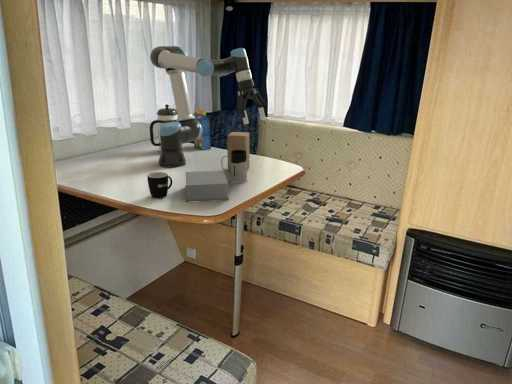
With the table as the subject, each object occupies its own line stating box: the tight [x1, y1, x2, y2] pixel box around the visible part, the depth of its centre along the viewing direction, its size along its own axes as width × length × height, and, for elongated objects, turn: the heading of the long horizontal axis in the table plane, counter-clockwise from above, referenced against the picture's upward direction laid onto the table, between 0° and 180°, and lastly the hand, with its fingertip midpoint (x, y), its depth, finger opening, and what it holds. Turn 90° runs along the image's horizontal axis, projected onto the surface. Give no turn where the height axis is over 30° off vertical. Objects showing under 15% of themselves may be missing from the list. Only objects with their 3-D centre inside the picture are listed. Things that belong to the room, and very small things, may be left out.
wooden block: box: [226, 131, 251, 173], centre depth 224 cm, size 10×10×20 cm
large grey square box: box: [185, 170, 230, 203], centre depth 190 cm, size 21×19×8 cm
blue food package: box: [193, 108, 212, 151], centre depth 272 cm, size 6×12×25 cm, turn 36°
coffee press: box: [149, 103, 178, 153], centre depth 259 cm, size 17×16×30 cm
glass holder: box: [220, 150, 249, 184], centre depth 206 cm, size 9×14×15 cm, turn 122°
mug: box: [146, 171, 173, 199], centre depth 186 cm, size 12×9×10 cm
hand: (255, 122), depth 211 cm, fingers open, 13 cm apart
